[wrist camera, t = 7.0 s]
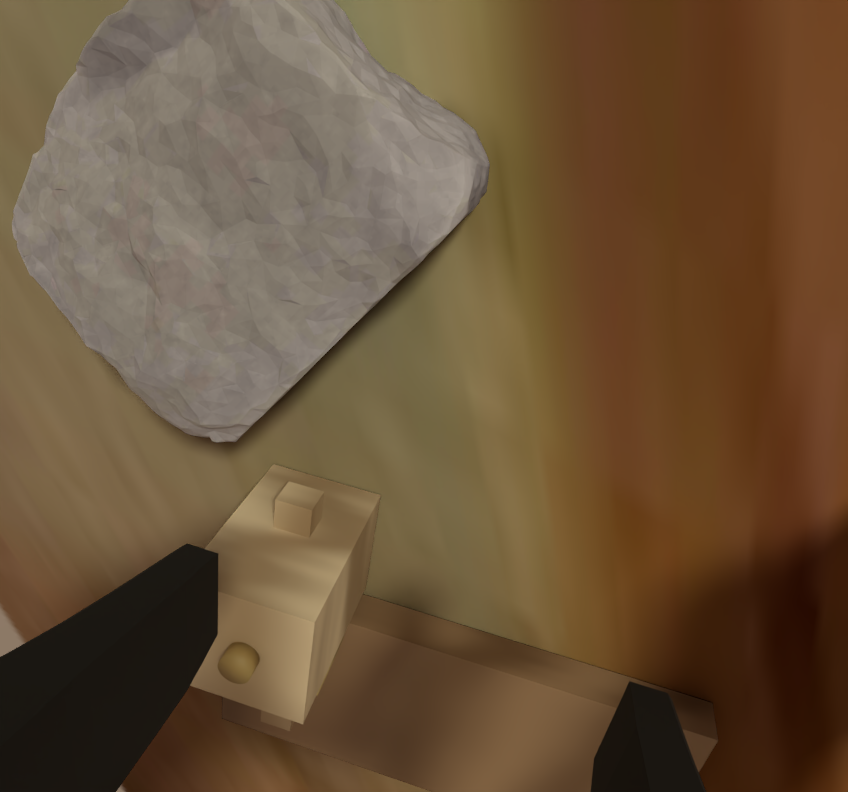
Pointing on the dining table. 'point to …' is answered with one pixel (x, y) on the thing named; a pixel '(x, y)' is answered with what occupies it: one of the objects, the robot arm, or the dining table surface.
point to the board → (464, 707)
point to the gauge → (287, 591)
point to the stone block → (234, 198)
